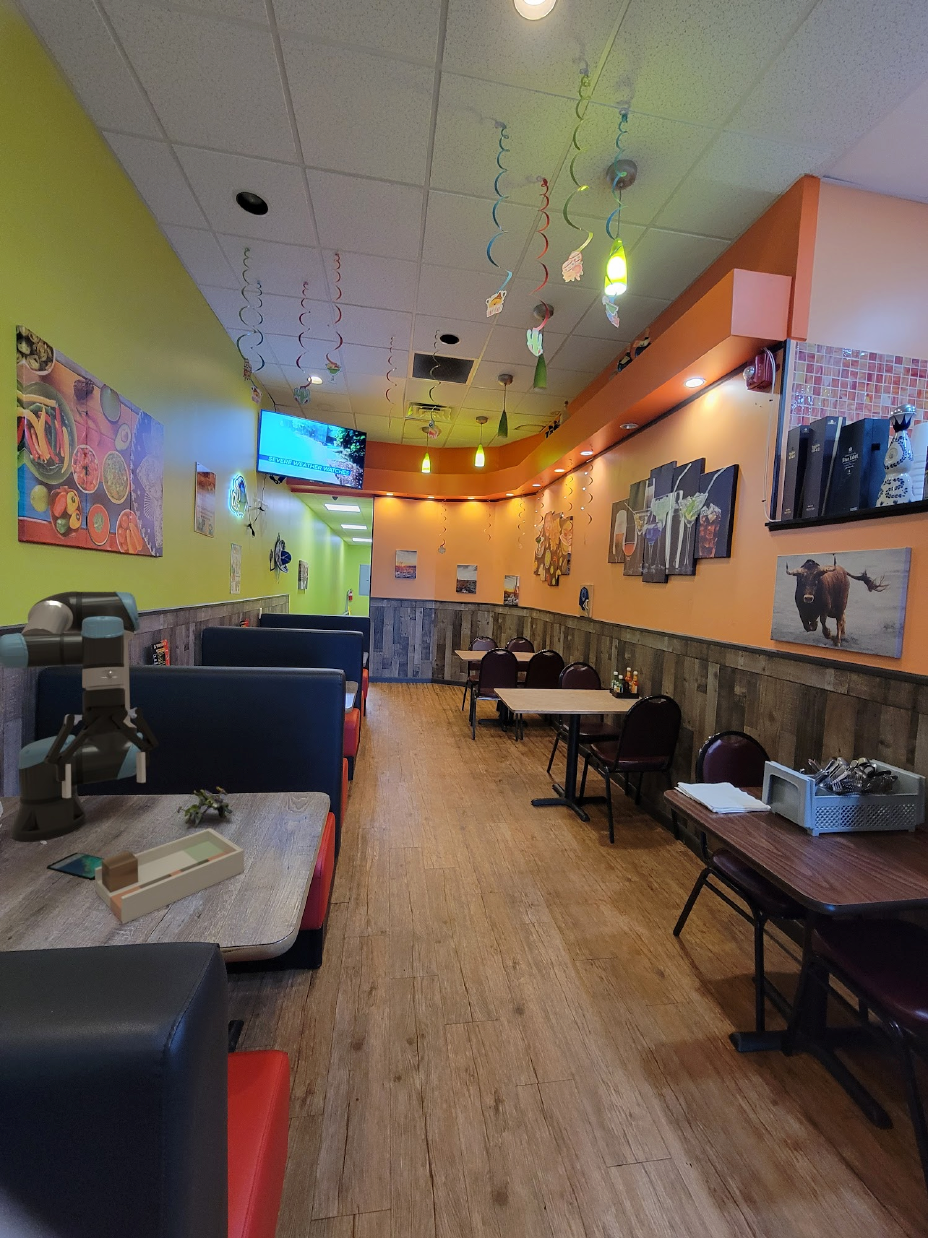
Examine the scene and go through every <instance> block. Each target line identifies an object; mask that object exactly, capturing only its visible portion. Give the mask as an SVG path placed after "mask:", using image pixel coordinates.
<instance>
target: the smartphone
mask: <svg viewBox="0 0 928 1238" xmlns="http://www.w3.org/2000/svg"><path fill="white" fill-rule="evenodd" d="M104 859H105V858H102V857H98V856H94V855H90V854H87V853H82V852H73V853H72V854H69V855H67V856H65V857H63V858H60V859H59V860H56V861H54V862H52V863H50V864H48V865H46V867H45V868H46V869H47V870H51V871H54V872H56V873H57V872H58V873H62V874H65V875H69V876H71V875H72V877H76V876H77V878H78V879H79V878H80V879H85V880H87V879H89V880H88V881H95V868H98V867H101V866H102V860H104Z"/></svg>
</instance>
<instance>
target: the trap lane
mask: <svg viewBox="0 0 928 1238" xmlns="http://www.w3.org/2000/svg"><path fill="white" fill-rule="evenodd" d="M244 852H245V851H244V849H243V848H241V847H240V846H238V845H236V844H235V843H233V842H232V841H231V840H229V839H228V838H226V837H224V835H222V834H220V833H219V832H217V831H216V830H214V829H212V827H209V828H207V829H204V830H200V831H198V832H195V833H192V834H190V835H187V836H184V837H181V838H177V839H175V840H173V841H169V842H167V843H164V844H161V845H158V846H155V847H153V848H149V849H146V850H144V851H141V852H139V853H135V854H133V855H134V856H135V857H136V858H137V859H138V882H137V883H135V884H132V885H129V886H127V887H124V888H122V889H119V890H117V891H114V892H111V893H110V892H109V891H108V889H107V888H106V887H105V886H104V885H103V884H102V866H101V867H98V868H95V880H94V881H95V882H94V884H95V887H94V888H95V889H94V891H95V893H96V892H97V893H96V894H97V895H98V896H99V897H100V899H101V900H102V901H103V902H104V903H105V904H106V906H107V907H108V908H109V910H111V911H112V912H113V914H114V915H115V916H116V917H117V918H118V920H119V921H120V922H121V923H122V924H123V925H125V924H127V923H129V922H132V921H133V920H136V919H138V918H141V917H144V916H145V915H148V914H149V913H152V912H154V911H157V910H158V909H161V908H164V907H166V906H168V905H170V904H173V903H175V902H177V901H179V900H181V899H184V898H186V897H188V896H190V895H193V894H195V893H197V892H200V891H202V890H204V889H207V888H210V887H211V886H213V885H216V884H218V883H220V882H221V883H222V882H223V881H225V880H228V879H230V878H233V877H234V876H237V875H239V874H241V873H243V872H244V871H245V870H244V869H245V863H244V862H245V859H244V858H245V856H244V855H245V854H244Z"/></svg>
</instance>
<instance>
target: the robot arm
mask: <svg viewBox="0 0 928 1238" xmlns="http://www.w3.org/2000/svg"><path fill="white" fill-rule="evenodd" d="M136 602H137V601H136V599H135V596H134V594H132V593H131V592H126V591H125V592H124V591H116V590H114V591H75V590H74V591H73V590H72V591H65V592H64V591H63V592H60V593H56V594H52V595H50V596H47V597H44V598H42V599H41V600H39V601H37V602H36V603H34V605H32V607H31V608H30V610H29V611H28V613H27V623H26V625H25V626H24V628H23V629H22V631H21V633H20V632H16V633H9V634H8V633H7V634H4V635H2V636H1V637H0V665H1V667H3V668H4V669H21V670H24V669H33V668H34V669H35V668H47V667H48V668H51V667H65V666H67V667H68V666H70V667H71V666H82V668H81V669H82V672H81V673H82V674H81V675H82V676H81V677H82V678H81V680H82V682H81V683H82V688H83V689H85V690H84V691H83V692H82V712H81V714H71V713H70V714H65V715H64V716H63V722H62V727H61V728H60V730H59V732H58V734H57V735H54V736H51V737H50V736H49V737H47V738H43V739H40V740H37V741H34V742H31V743H28V744H27V745H25V746H24V747H23V748H22V749H20V751H19V754H18V765H17V769H18V778H19V779H18V783H19V785H18V786H19V807H18V809H17V811H16V815H15V817H14V819H13V820H14V821H13V822H12V826H11V837H12V839H13V840H15V841H19V842H38V841H43V840H49V839H53V838H57V837H60V836H64V835H67V834H69V833H71V832H74V831H76V830H78V829H79V828H81V827H82V826H83V825H84V824H85V823H86V821H87V817H86V816H87V815H86V814H87V813H86V812H87V811H86V809H85V807H84V805H83V804H82V801H81V799H80V797H79V795H78V786H79V785H87V784H93V783H94V784H95V783H100V782H105V781H113V780H120V779H124V778H128V777H133V776H135V775H136V783H141V784H144V783H146V781H147V780H146V776H147V772H146V767H148V766H150V763H151V761H150V760H151V758H150V752H151V751H152V749H154V748H158V746H159V745H160V744H159V741H158V739H157V738H156V737H155V735H154V733H153V732H152V730H151V728H150V726H149V724H148V723H147V722H146V720H145V718H144V716H143V709H142V708H141V707H133V708H131V702H130V700H131V699H130V696H131V695H130V661H129V659H130V656H129V655H130V654H129V652H130V650H129V642H130V641H131V640H132V639H133V638H134V637H135V632H138V631H140V618H139V610H138V607H137V603H136ZM131 719H132V720H133V722H134V723H135V724H134V723H132V722H131ZM79 721H80V722H82V724H84V726H83V728H82V729H81V730H79V733H78V734H77V735H76V736H75V735H73V734H71V732H72V730H73V728H74V726H76V725H78V723H79ZM137 729H138V730H139V732H137V731H138V730H137ZM144 740H145V741H144Z"/></svg>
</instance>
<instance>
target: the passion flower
mask: <svg viewBox="0 0 928 1238" xmlns="http://www.w3.org/2000/svg"><path fill="white" fill-rule="evenodd" d="M215 789H216V790H217V791H219V793H218V794H217V795H214V794H213V793H212V792H210V791H209V790H206V789H204V790H203V789H200V790H199V792H196V790H194V791H193V794H194V796H196V797H198V801H199V802H198V804H196V803H193V804H192V805H191V806H190V807H188V808H187V809H183V808H182V807H183V806H178V809H177V813H178V814H180V812H181V811H184V817H187V816H188V818H186V820H185V822H186V823H185V824H186V825H187V824H188V822H189V821H190V819H191V818H192V817H194V818H195V824H194V827H193V829H195V828H196V827H197V825H198V823H200V822H201V820H202V819H203V818H204V816H205V815H206V813H207V812H208V810H210V809H211V808H212V810H214V811H217V814H218V816H219V817H220V818H221V819H223V818H225V819H227V814H230V815H231V814H232V813H233V810H232V809H230V807H231V805H230V804H229V802H226V801H224V800H225V798H222V797H221V795H224V796H228V795H229V794H228V793H227V792H226V790H225V789H224V788H221V787H219V786H215ZM204 806H206V808H205V809H204V811H203V812H201V809H202V807H204ZM226 813H227V814H226Z"/></svg>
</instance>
